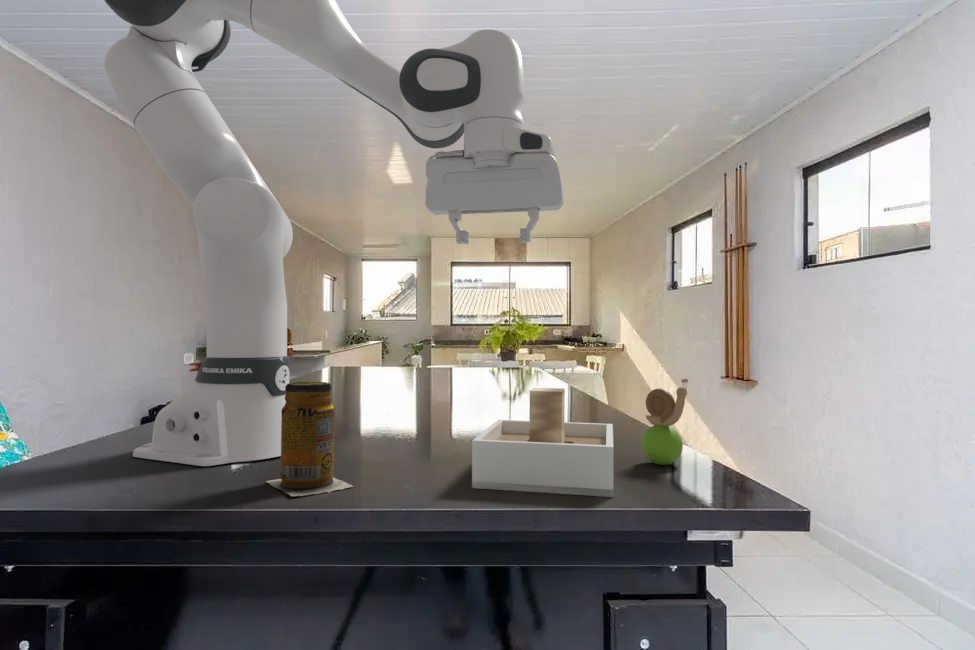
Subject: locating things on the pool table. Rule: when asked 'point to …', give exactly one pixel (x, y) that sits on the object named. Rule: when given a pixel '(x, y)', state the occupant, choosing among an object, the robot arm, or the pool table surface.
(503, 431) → the open box
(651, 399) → the snail figurine
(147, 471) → the pool table surface
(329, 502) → the pool table surface
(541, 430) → the beech peg
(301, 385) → the condiment
